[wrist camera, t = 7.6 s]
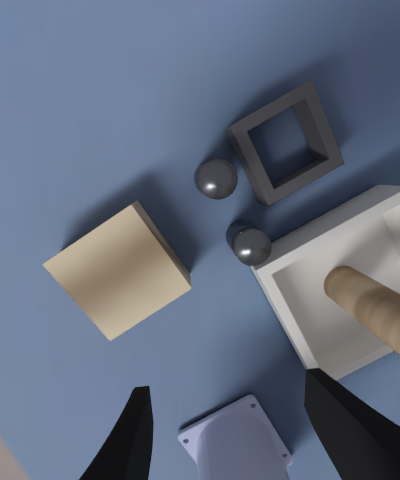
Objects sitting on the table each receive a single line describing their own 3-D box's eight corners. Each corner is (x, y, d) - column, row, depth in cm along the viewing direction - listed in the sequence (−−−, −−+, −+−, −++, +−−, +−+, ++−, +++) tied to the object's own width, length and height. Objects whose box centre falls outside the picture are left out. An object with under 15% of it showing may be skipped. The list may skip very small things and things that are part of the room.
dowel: (365, 270, 22) (467, 324, 14) (350, 303, 23) (440, 371, 15) (332, 262, 22) (419, 312, 14) (318, 295, 22) (394, 362, 15)
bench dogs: (261, 241, 21) (277, 254, 18) (234, 256, 21) (245, 272, 18) (217, 154, 20) (226, 151, 16) (188, 171, 20) (191, 171, 16)
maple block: (189, 273, 22) (191, 288, 19) (118, 319, 22) (109, 341, 19) (137, 199, 20) (131, 204, 17) (61, 251, 21) (42, 264, 18)
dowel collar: (328, 164, 20) (344, 163, 18) (259, 202, 21) (268, 205, 19) (298, 88, 19) (311, 78, 17) (224, 130, 19) (229, 125, 17)
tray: (419, 302, 24) (453, 319, 21) (302, 363, 24) (319, 389, 22) (377, 184, 21) (409, 186, 18) (245, 257, 22) (256, 270, 19)
